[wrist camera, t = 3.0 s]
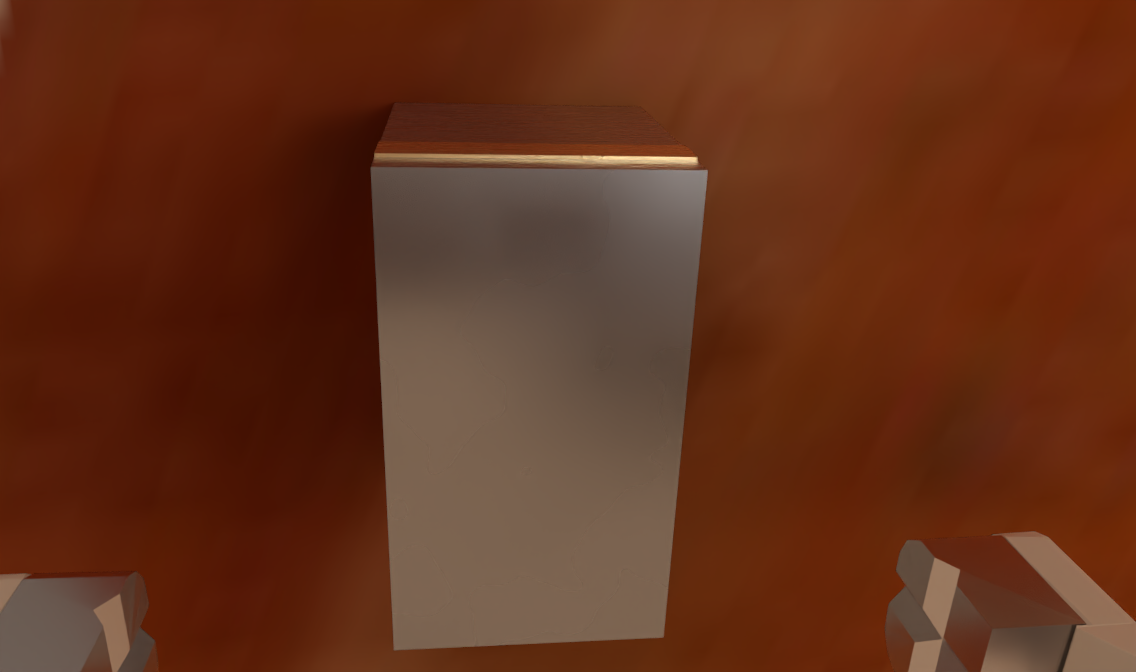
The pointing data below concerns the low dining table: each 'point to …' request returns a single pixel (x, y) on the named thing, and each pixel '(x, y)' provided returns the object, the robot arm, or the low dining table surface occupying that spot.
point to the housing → (532, 367)
